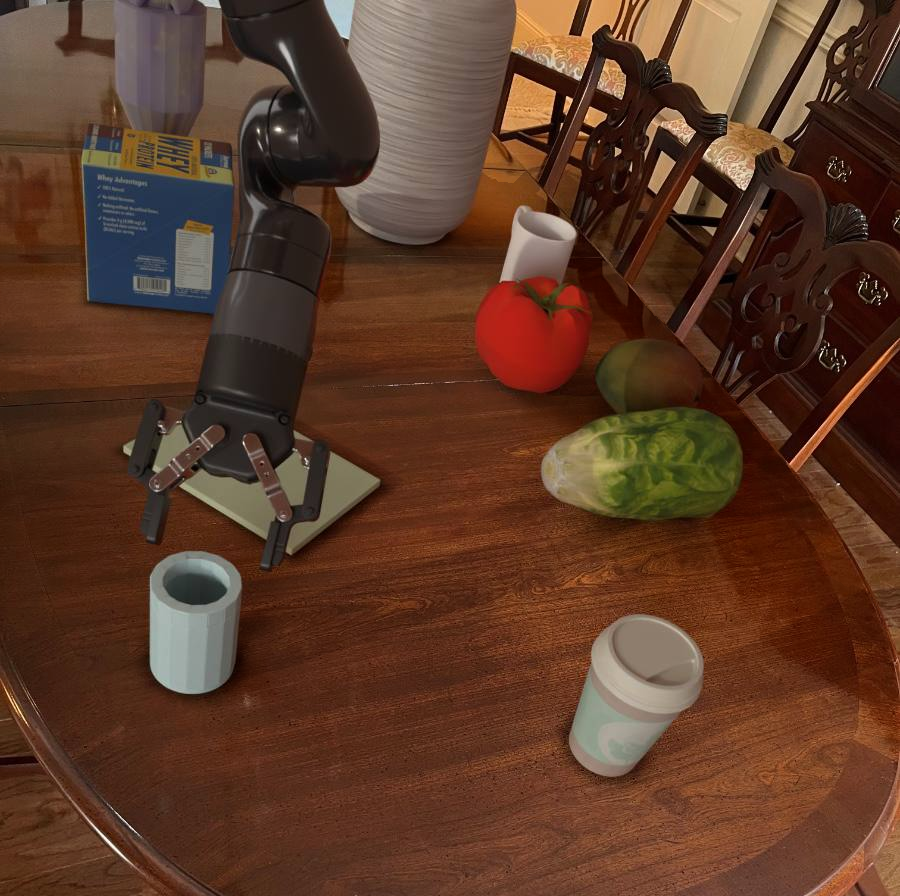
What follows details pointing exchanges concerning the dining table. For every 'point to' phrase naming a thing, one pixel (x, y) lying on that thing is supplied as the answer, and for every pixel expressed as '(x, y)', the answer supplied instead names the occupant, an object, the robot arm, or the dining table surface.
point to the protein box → (156, 218)
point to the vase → (427, 109)
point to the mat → (251, 500)
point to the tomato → (533, 332)
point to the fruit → (648, 376)
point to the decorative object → (160, 63)
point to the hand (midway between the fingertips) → (209, 557)
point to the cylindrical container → (194, 621)
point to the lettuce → (647, 465)
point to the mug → (538, 246)
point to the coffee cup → (633, 691)
